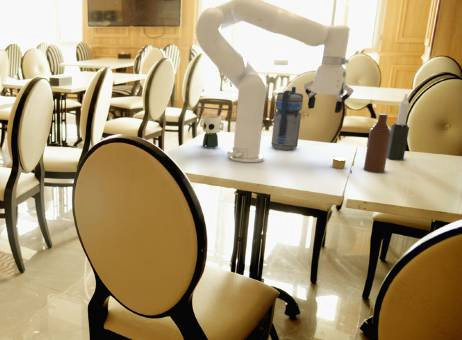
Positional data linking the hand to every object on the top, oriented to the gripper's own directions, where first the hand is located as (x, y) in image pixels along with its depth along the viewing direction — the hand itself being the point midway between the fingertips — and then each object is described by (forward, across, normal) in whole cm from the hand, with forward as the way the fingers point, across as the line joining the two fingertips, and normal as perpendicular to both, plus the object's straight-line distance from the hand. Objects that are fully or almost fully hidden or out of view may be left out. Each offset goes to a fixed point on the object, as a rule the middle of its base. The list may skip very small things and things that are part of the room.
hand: (324, 110), depth 184 cm
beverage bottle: (+20, +20, -14) cm, 32 cm away
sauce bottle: (+19, -17, -8) cm, 27 cm away
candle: (+19, -15, -33) cm, 41 cm away
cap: (+20, -8, -2) cm, 21 cm away
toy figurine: (+21, +40, +9) cm, 47 cm away
